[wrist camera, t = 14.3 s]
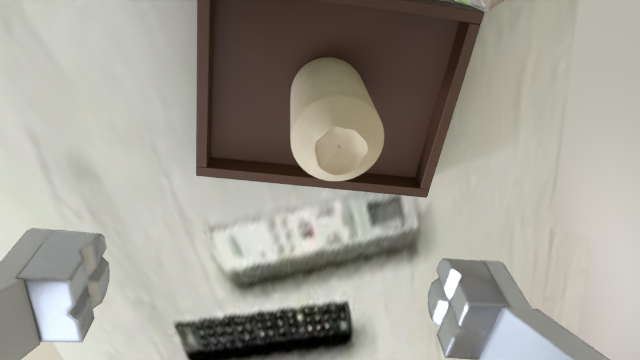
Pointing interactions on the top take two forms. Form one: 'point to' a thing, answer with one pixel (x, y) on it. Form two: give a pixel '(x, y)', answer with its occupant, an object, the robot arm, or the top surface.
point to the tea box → (482, 3)
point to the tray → (338, 42)
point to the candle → (333, 121)
